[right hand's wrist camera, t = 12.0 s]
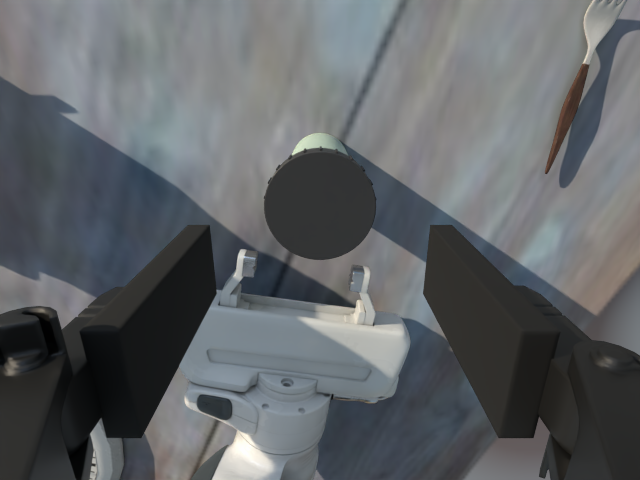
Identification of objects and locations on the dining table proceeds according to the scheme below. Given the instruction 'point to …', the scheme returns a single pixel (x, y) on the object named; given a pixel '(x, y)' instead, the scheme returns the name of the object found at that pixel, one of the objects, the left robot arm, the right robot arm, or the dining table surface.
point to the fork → (585, 64)
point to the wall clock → (106, 455)
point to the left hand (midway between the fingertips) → (305, 260)
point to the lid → (319, 204)
